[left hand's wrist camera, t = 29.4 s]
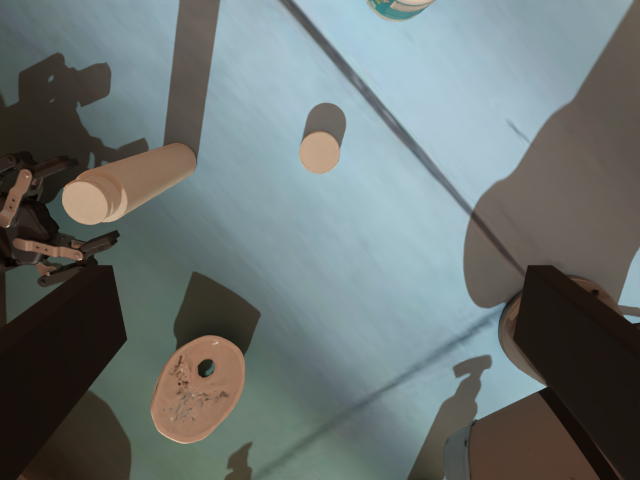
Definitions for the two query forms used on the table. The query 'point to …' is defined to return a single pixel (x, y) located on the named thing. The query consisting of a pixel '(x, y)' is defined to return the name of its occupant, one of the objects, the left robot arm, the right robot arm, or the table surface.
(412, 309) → the table surface
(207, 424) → the skull bowl
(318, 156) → the lid
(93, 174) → the slender beige bottle
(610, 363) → the left robot arm
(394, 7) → the pill bottle
